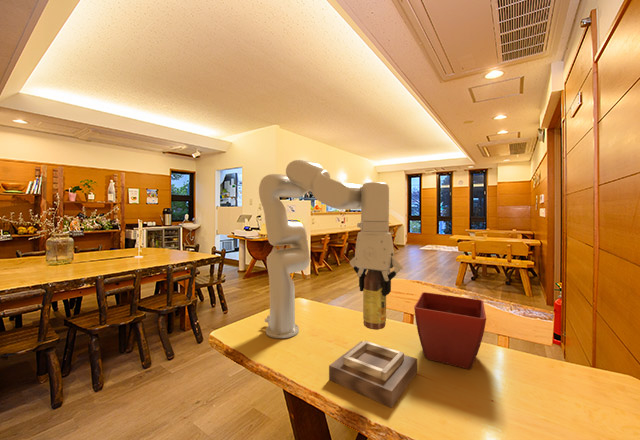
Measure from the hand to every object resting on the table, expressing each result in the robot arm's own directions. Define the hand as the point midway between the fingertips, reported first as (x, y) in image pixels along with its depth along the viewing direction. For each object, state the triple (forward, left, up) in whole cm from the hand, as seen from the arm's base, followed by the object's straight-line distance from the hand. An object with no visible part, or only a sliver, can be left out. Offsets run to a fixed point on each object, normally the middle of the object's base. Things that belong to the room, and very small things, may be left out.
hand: (374, 291), depth 77 cm
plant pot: (+14, +25, -24) cm, 37 cm away
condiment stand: (0, 0, -24) cm, 24 cm away
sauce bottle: (0, 0, -10) cm, 10 cm away
